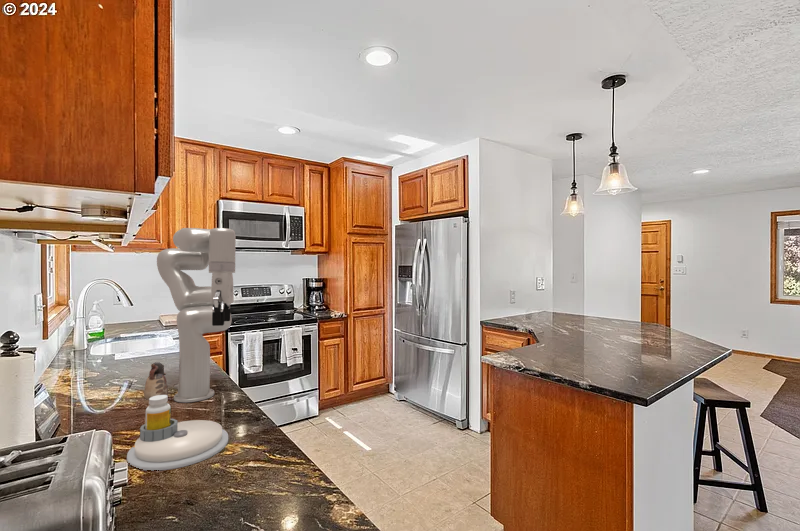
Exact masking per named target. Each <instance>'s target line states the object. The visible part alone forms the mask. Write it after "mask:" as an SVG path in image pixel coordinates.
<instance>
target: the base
mask: <svg viewBox="0 0 800 531" xmlns="http://www.w3.org/2000/svg"><path fill="white" fill-rule="evenodd" d="M228 444H229V434H228V432H227V431H226V430H225V429H223V428H222V439H221V440H220V442H219V443H218V444H217V445H215V446H214V447H212V448H211V449H209V450H207V451H205V452H203V453H200V454H197V455H194V456H191V457H188V458H184V459H179V460H174V461H166V462H149V461H144V460H141V459H139V458H137V457H136V456H135V444H134V445H132V447H131V448H130V449H129V450H128V452H127V454H126V462H127V461H128V463H130V465H132V466H134V467H136V468H139V469H143V470H142V471H147V470H151V471H152V472H154V470H157V471H158V470H159V471H167V470H169V471H170V470H174V469H181V468H183V467H188V466H191V465H194V464H198V463H201V462H203V461H205V460H208V459H210V458H211V457H215V455H217V454H219V453H220V452H221V451H223V450H224V449H225V448H226V447H227V445H228ZM128 463H127V464H128ZM130 465H129V466H130ZM139 469H138V470H139ZM151 471H150V472H151ZM159 471H158V472H159Z"/></svg>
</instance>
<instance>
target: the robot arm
mask: <svg viewBox="0 0 800 531" xmlns="http://www.w3.org/2000/svg"><path fill="white" fill-rule="evenodd" d="M236 237H237V236H236V231H235V230H234V229H232V228H225V227H216V228H215V227H213V228H201V227H199V228H198V227H183V228H180V229H179V230H176V232H175V233H174V234H173V237H172V242H173V244H174V246H175V247H174V248H173V247H172V248H165V249H163V250H161V251H160V252H158V254H157V256H156V266H157V271H158V274H159V276H160V277H161V279H162V280H163V282H164V283H165V284H166V286H167V287H168V288H169V292H170V294H171V298H172V301H173V302H174V303H173V304H174V305H175V307H176V309H177V311H179V312H178V313H177V315H176V327H177V332H178V343H179V345H178V346H179V347H178V350H179V352H178V353H179V356H178V357H179V359H178V362H179V364H178V367H179V369H178V372H179V373H178V382H177V384H175V385H174V386H173V389H175V390H177V393H175V394H174V396H173V401H174V402H178V403H195V402H200V401H205V400H207V399H210V398H212V397H213V396H214V395H215V390H214V389H212V388H210V386H211V384H210V382H211V380H210V378H211V373H210V372H211V369H210V368H211V367H210V366H211V346H210V343H209V341H208V340H207V339H206V338H205V337H204V334H207V333H210V334H211V333H217V332H218V333H219V332H223V331H227V330H228V329H229V328H230V326H231V325H232V313H231V305H232V304H233V303H234V301H235V298H234V293H235V292H234V276H233V274H234V273H235V274H236ZM207 268H208V273H209V274H211V273H212V274H211V285H210V286H199V285H198V286H197V285H196V283H195V281H194V279H193V278H192V277H191V276H190V275H189V274H187V273H186V272H184V271H203V270H205V269H207Z"/></svg>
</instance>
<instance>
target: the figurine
mask: <svg viewBox="0 0 800 531" xmlns="http://www.w3.org/2000/svg"><path fill="white" fill-rule="evenodd" d="M166 374H167V373H166V372H165V365H164V364H163V363H161V362H157V361H156V362H153V363H151V364H150V370H149V375H148V376H147V378H146V381H145V386H144V390H143V398H144V399H146V400H149V398H151V397H153V396H157V395H167V396H168V393H169V392H168V391H169V388H168V384H167V378H166Z"/></svg>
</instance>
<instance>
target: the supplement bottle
mask: <svg viewBox="0 0 800 531" xmlns="http://www.w3.org/2000/svg"><path fill="white" fill-rule="evenodd" d="M168 397H169V396H168V395H157V396H153V397H151V398H149V399H148V406H147V407H146V409H145V412H144V413H145V415H144V416H145V419H144V420H145V421H144V424H145V429H146V430H158V429H163V428H166V427H169V426H170V419H171V416H172V415H171V412H172V411H171V410H172V409H171V404H169V403H168V400H169V398H168Z"/></svg>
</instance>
